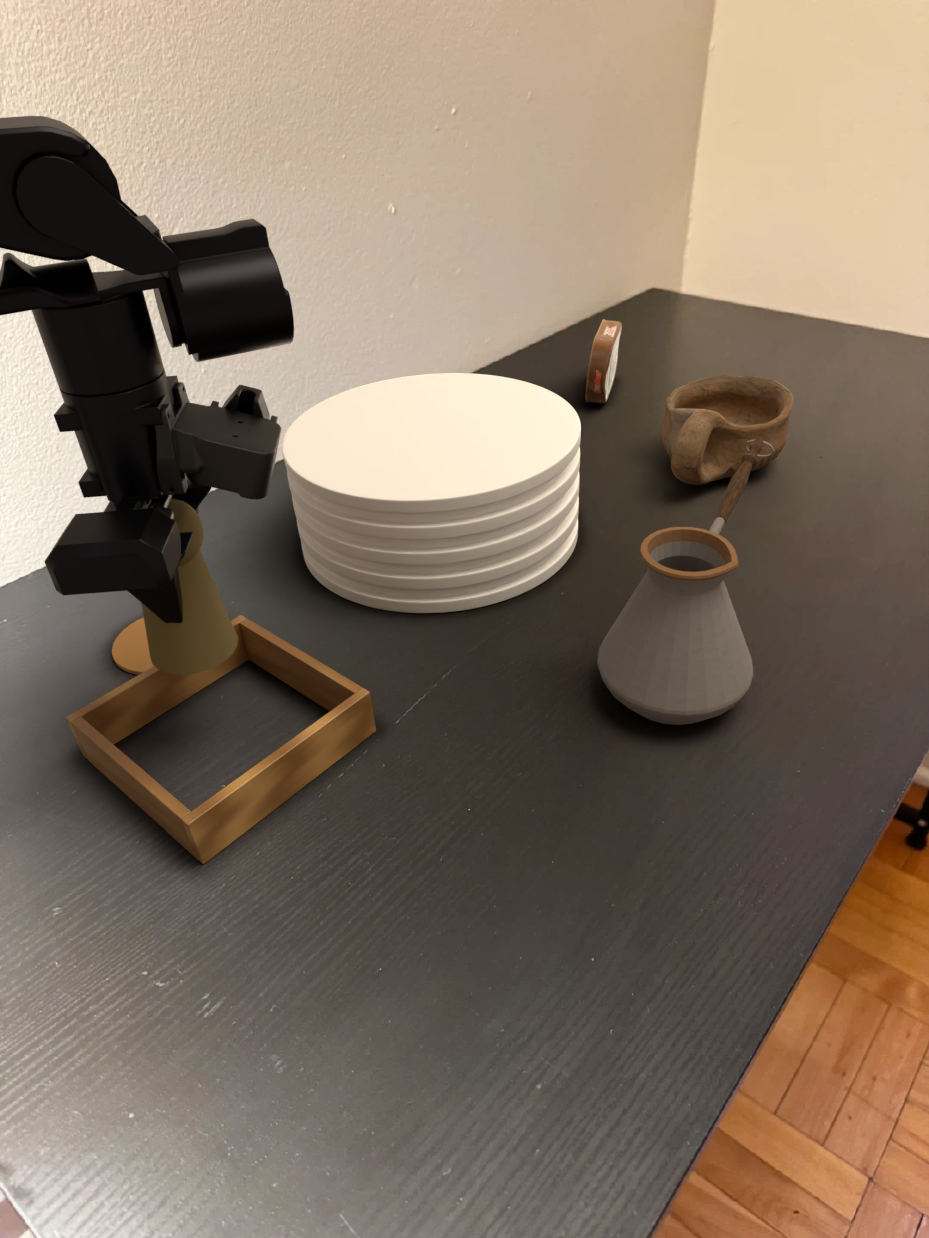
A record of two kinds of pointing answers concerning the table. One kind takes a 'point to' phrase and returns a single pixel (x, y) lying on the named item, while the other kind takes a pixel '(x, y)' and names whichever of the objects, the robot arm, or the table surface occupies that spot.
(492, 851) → the table surface
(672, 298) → the table surface
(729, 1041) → the table surface
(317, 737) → the wooden frame
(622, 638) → the coffee pot
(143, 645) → the coaster
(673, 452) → the brown clay mug
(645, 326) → the table surface
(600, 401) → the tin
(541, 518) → the plate stack
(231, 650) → the pepper shaker
